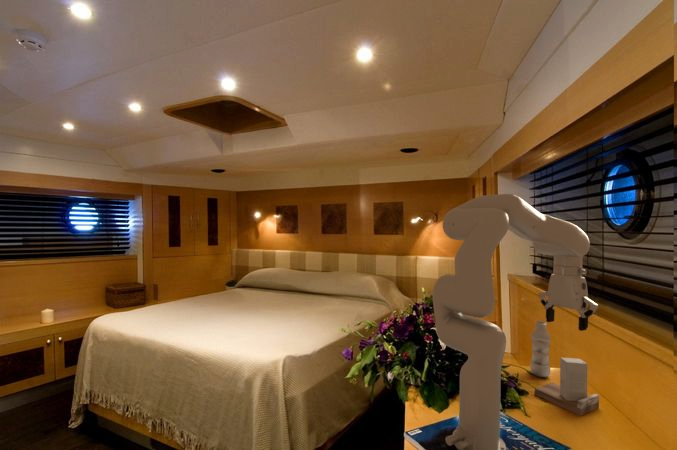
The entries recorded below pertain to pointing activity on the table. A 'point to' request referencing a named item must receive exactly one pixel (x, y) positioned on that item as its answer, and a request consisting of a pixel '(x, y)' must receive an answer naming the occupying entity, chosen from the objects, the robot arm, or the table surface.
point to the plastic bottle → (540, 350)
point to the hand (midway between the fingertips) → (565, 325)
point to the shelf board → (578, 407)
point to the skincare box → (573, 379)
